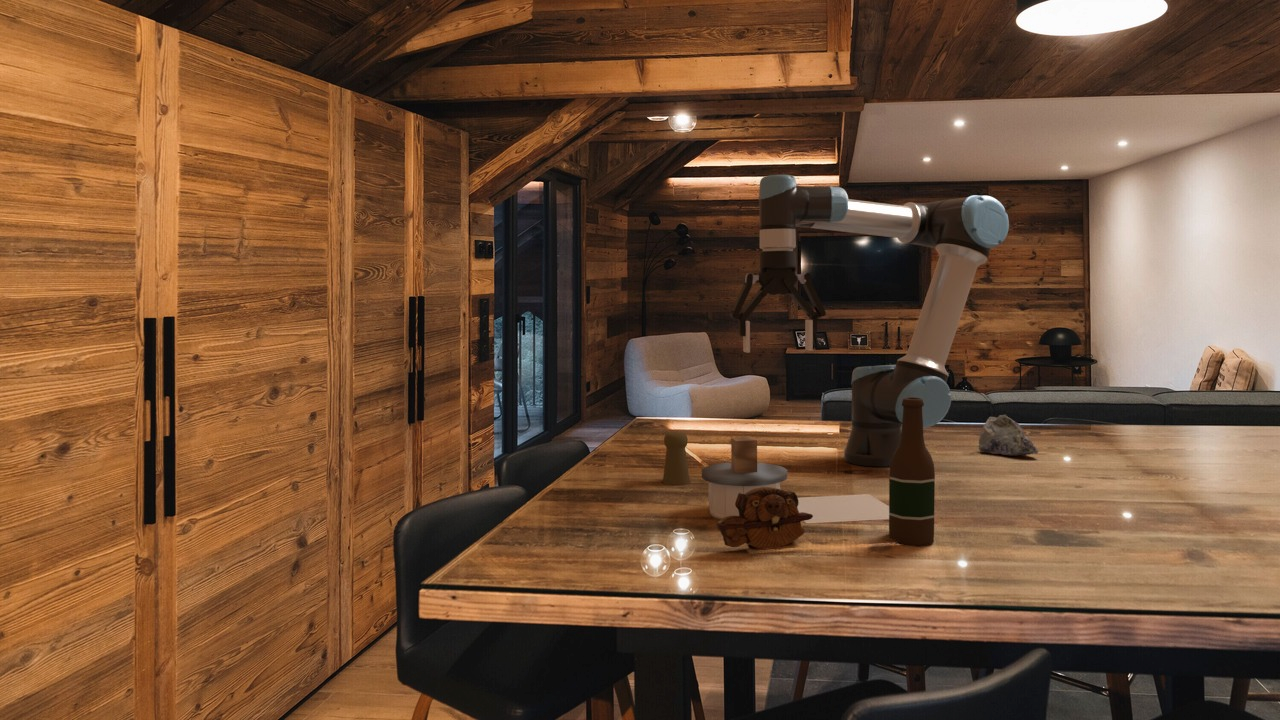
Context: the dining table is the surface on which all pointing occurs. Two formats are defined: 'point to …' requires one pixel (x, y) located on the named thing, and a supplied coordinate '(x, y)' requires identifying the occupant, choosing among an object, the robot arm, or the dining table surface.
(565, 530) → the dining table surface
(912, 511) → the beer bottle
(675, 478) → the cork
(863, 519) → the mat
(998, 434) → the mineral rock
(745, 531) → the wooden carving
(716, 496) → the bowl
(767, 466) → the lid
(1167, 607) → the dining table surface
